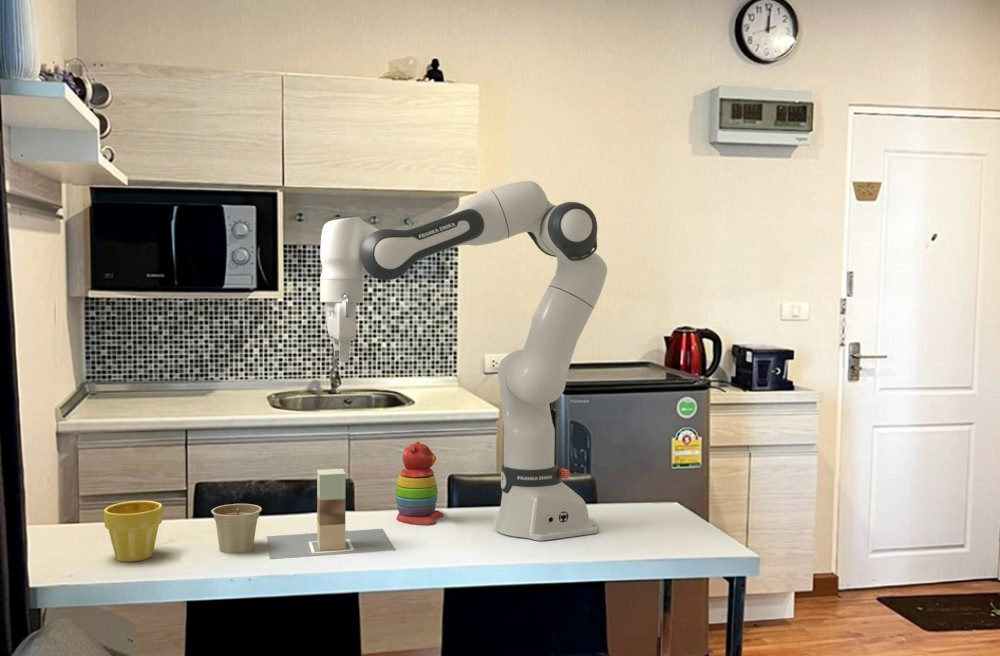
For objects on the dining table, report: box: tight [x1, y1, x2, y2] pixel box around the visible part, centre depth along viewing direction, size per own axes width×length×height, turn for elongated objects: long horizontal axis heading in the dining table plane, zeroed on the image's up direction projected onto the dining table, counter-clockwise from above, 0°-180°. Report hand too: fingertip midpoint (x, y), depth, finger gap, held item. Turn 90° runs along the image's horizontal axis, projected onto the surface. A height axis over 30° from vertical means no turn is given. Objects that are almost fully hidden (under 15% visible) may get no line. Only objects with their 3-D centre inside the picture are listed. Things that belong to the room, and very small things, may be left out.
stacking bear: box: [395, 441, 444, 527], centre depth 198 cm, size 11×10×18 cm
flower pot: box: [211, 503, 263, 555], centre depth 174 cm, size 9×9×9 cm
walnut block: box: [316, 495, 346, 526], centre depth 176 cm, size 5×5×5 cm
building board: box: [266, 519, 396, 560], centre depth 179 cm, size 24×16×6 cm, turn 107°
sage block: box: [316, 468, 346, 500], centre depth 176 cm, size 5×5×5 cm
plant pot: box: [103, 500, 163, 563], centre depth 170 cm, size 10×10×10 cm
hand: (341, 360), depth 185 cm, fingers open, 8 cm apart
